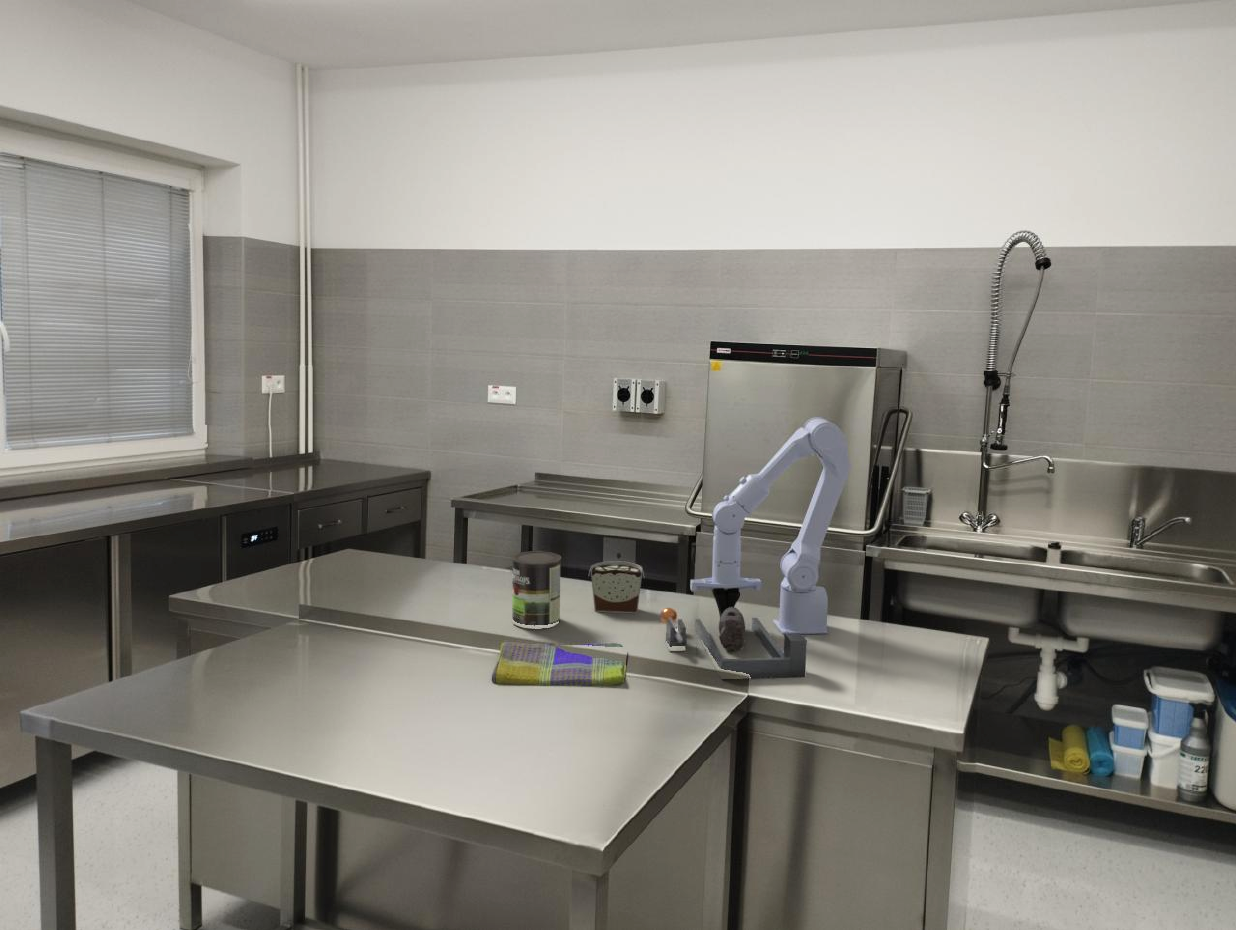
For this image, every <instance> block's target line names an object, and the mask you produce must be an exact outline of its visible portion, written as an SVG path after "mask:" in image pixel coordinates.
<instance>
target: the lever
mask: <svg viewBox="0 0 1236 930" xmlns="http://www.w3.org/2000/svg"><path fill="white" fill-rule="evenodd" d="M660 619H661V621H662V623H664V624H665V625H667V620H669V619H670V620H671V622H672V624H673V627H674V634H675V636H676V638H677V640H678V642H679V643H682V642H683V638H682V636H681V634H680V632H679V630H678V625H677V624H676V621H678V614H677V610H675V608H673V607H665V608H664V609H663V610H662V611H661V613H660Z"/></svg>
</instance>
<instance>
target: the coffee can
mask: <svg viewBox="0 0 1236 930" xmlns="http://www.w3.org/2000/svg"><path fill="white" fill-rule="evenodd" d="M561 561H562V556H561V555H559V554H557V553H554V552H550V551H542V550H534V551H533V550H532V551H522V552H519V553H516V554H514V555H513V556H512V557H511V564H512V565H511V566H512V570H511V572H512V573H511V574H512V575H511V576H512V577H511V578H512V579H511V580H512V584H511V585H512V590H511V591H512V594H511V595H512V596H511V597H512V600H511V601H512V603H511V604H512V607H511V608H512V619H513V620H514V621H515V622H517V623H520V624H525V625H534V626H535V625H548V624H553V623H556V622H558V621H559V620H560V621H561ZM512 619H511V620H512Z"/></svg>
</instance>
